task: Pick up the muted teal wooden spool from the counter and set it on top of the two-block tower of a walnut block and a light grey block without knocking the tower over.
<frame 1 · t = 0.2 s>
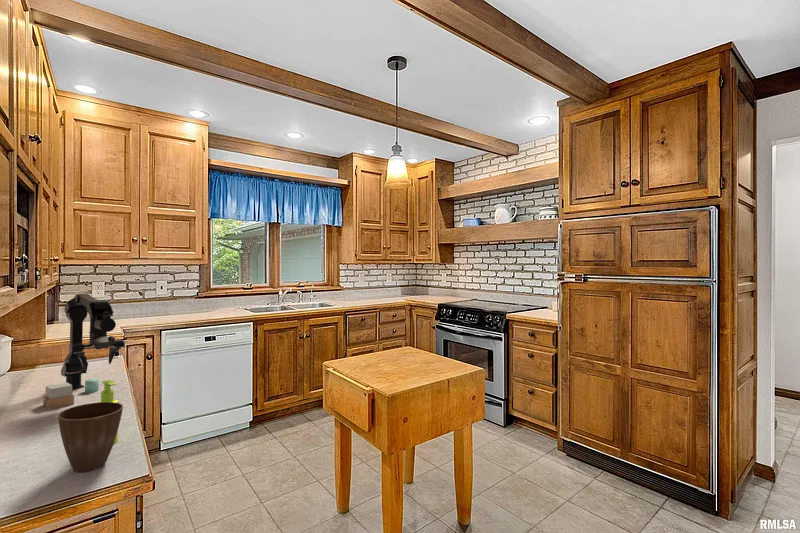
hand: (97, 365, 178), 14 cm above the counter, tool pointing down, fingers open, 9 cm apart
light grey block: (58, 395, 170), point 4 cm above the counter, touching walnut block
teal spool: (91, 391, 189), on the counter
plant pot: (90, 466, 118), on the counter
soap dispenser: (107, 443, 134), on the counter
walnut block: (58, 405, 170), on the counter, touching light grey block
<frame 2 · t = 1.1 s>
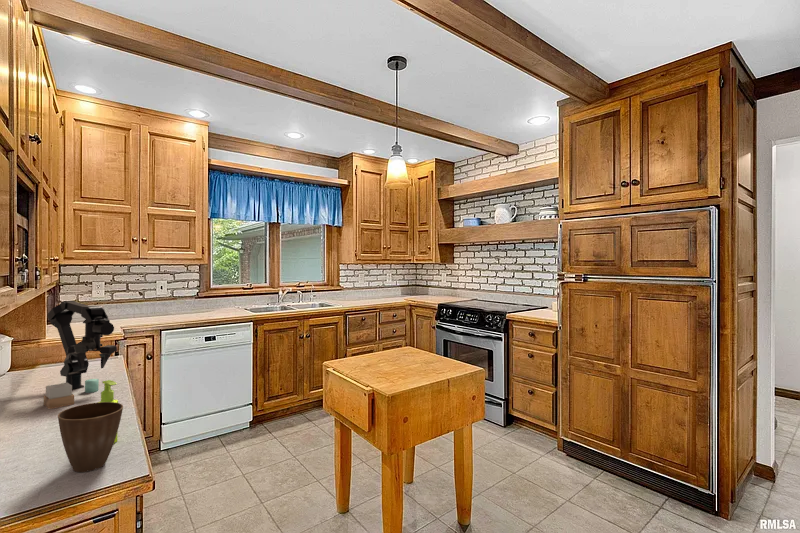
hand: (92, 367, 189), 11 cm above the counter, tool pointing down, fingers open, 9 cm apart
nothing on the counter moved.
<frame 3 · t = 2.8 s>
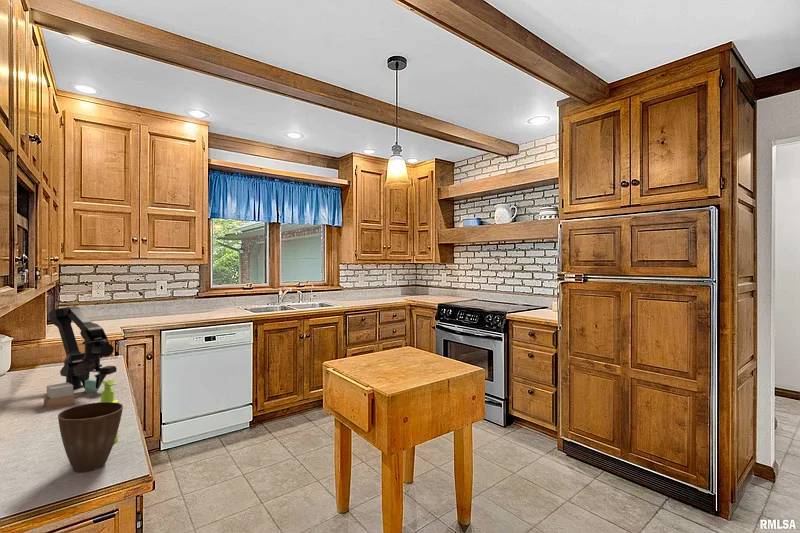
hand: (91, 388, 189), 1 cm above the counter, tool pointing down, fingers closed on teal spool, 5 cm apart
light grey block: (59, 395, 170), point 4 cm above the counter
teal spool: (91, 391, 189), on the counter, touching gripper
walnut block: (59, 405, 170), on the counter
everything else where it was.
when the fingers open (10 cm above the counter, at t = 7.3 s): teal spool drops 2 cm, resting on light grey block.
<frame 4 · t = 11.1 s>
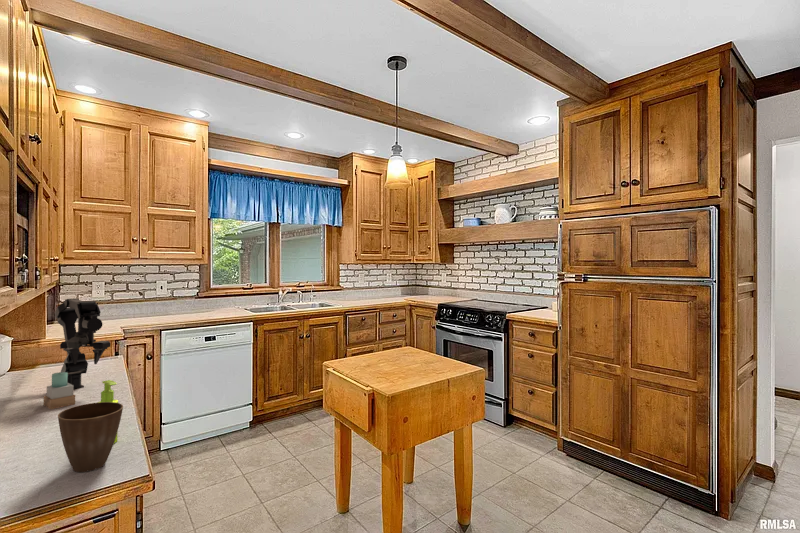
hand: (85, 364, 186), 13 cm above the counter, tool pointing down, fingers open, 9 cm apart
light grey block: (59, 395, 170), point 4 cm above the counter, touching teal spool, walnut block
teal spool: (59, 385, 170), point 8 cm above the counter, touching light grey block
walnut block: (59, 405, 170), on the counter, touching light grey block
everything else where it was.
at the end: teal spool 0.3 cm off-centre on the light grey block, point 4.0 cm above the light grey block's base; teal spool tilted 0°; light grey block moved 0.6 cm from its start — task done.
